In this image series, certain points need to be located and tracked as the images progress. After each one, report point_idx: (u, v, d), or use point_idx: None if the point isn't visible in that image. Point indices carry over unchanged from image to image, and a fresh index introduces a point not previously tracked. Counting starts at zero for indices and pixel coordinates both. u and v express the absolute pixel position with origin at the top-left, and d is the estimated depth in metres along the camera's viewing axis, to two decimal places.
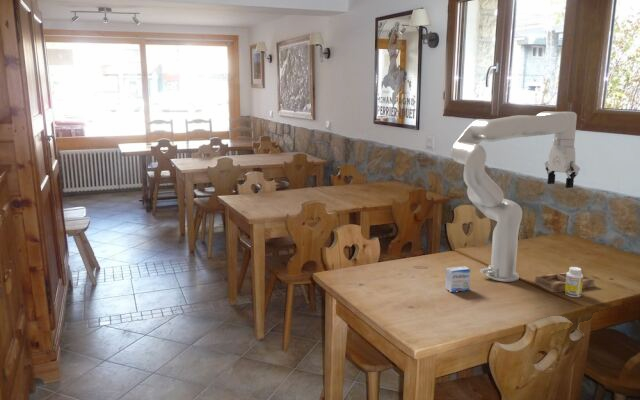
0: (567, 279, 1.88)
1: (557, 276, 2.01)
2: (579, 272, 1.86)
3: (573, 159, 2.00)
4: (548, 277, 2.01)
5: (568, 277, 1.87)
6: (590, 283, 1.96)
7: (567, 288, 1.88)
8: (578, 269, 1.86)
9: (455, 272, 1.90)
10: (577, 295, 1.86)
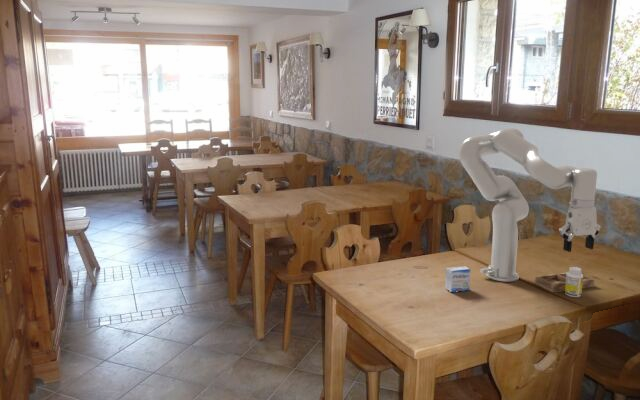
0: (567, 279, 1.88)
1: (557, 276, 2.01)
2: (579, 272, 1.86)
3: None
4: (548, 277, 2.01)
5: (568, 277, 1.87)
6: (590, 283, 1.96)
7: (567, 288, 1.88)
8: (578, 269, 1.86)
9: (455, 272, 1.90)
10: (577, 295, 1.86)
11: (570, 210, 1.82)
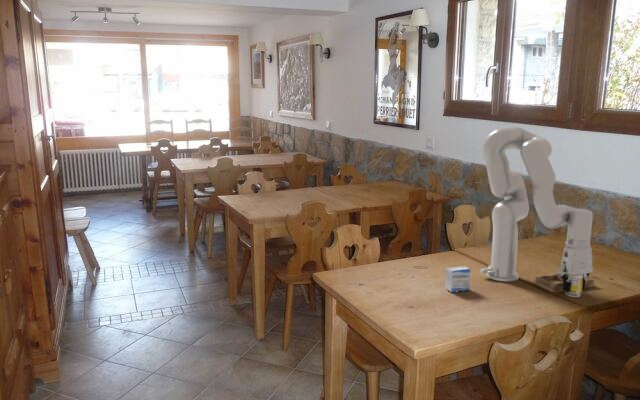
0: None
1: (557, 276, 2.01)
2: None
3: None
4: (548, 277, 2.01)
5: None
6: (590, 283, 1.96)
7: None
8: None
9: (455, 272, 1.90)
10: (577, 295, 1.86)
11: (566, 249, 1.85)
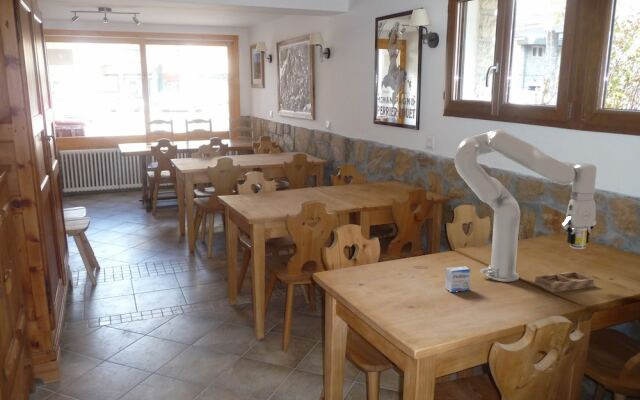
0: None
1: (557, 276, 2.01)
2: None
3: None
4: (548, 277, 2.01)
5: None
6: (590, 283, 1.96)
7: None
8: None
9: (455, 272, 1.91)
10: (581, 247, 1.94)
11: (571, 203, 1.92)
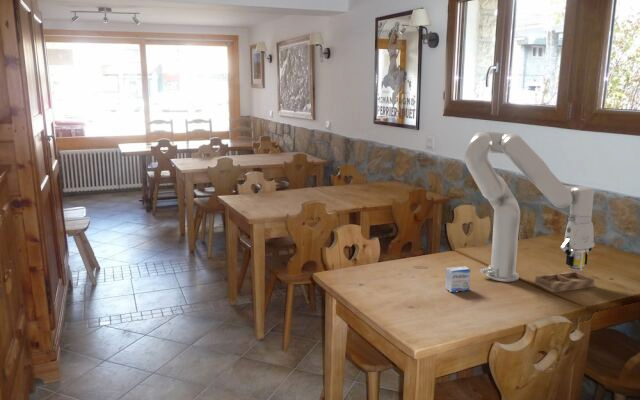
0: None
1: (557, 276, 2.01)
2: None
3: None
4: (548, 277, 2.01)
5: None
6: (590, 283, 1.96)
7: None
8: None
9: (455, 272, 1.90)
10: (580, 269, 1.96)
11: (569, 225, 1.94)
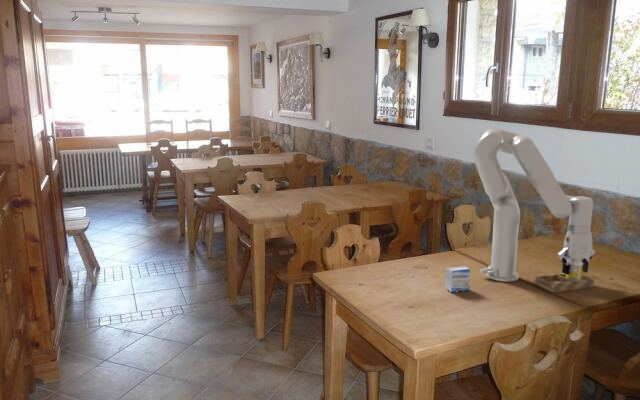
0: None
1: (557, 276, 2.01)
2: (579, 260, 1.96)
3: None
4: (548, 277, 2.01)
5: (569, 264, 1.98)
6: (590, 283, 1.96)
7: (568, 275, 1.98)
8: None
9: (455, 272, 1.90)
10: None
11: (568, 235, 1.95)
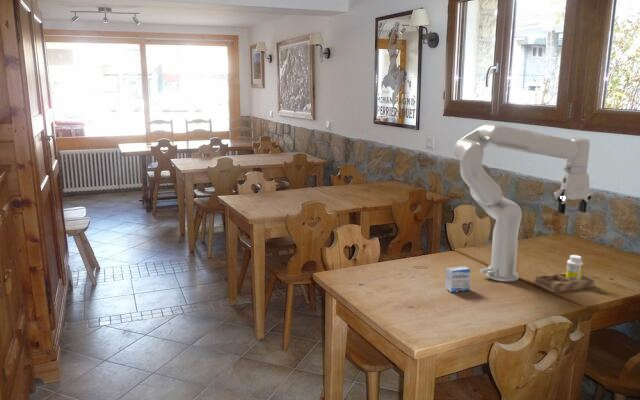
0: (568, 266, 1.98)
1: (557, 276, 2.01)
2: (579, 260, 1.96)
3: None
4: (548, 277, 2.01)
5: (569, 264, 1.98)
6: (590, 283, 1.96)
7: (568, 275, 1.98)
8: (578, 257, 1.97)
9: (455, 272, 1.90)
10: None
11: (565, 176, 2.01)
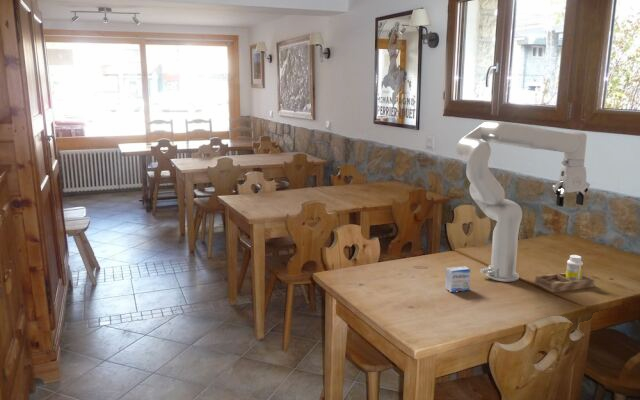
0: (568, 266, 1.98)
1: (557, 276, 2.01)
2: (579, 260, 1.96)
3: None
4: (548, 277, 2.01)
5: (569, 264, 1.98)
6: (590, 283, 1.96)
7: (568, 275, 1.98)
8: (578, 257, 1.97)
9: (455, 272, 1.90)
10: None
11: (562, 169, 2.04)
